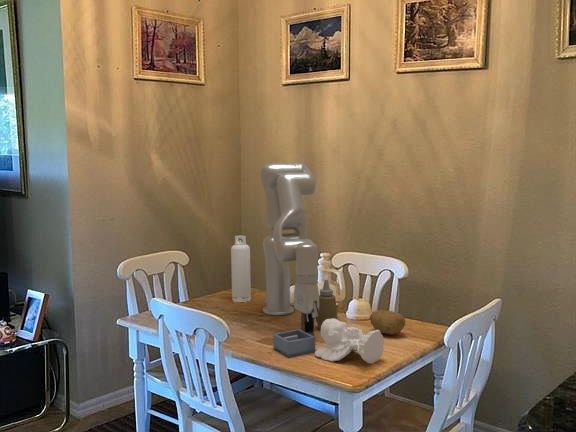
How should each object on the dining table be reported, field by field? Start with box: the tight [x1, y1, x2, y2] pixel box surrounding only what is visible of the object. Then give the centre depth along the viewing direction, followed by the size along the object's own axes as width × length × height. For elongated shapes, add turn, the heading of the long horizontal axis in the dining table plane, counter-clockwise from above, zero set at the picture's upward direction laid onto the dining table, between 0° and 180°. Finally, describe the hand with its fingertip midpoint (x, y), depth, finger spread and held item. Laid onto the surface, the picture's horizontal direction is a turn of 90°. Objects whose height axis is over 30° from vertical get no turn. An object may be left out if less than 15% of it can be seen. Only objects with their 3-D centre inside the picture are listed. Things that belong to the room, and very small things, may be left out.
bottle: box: [230, 235, 252, 303], centre depth 260 cm, size 8×8×28 cm
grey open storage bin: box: [272, 328, 316, 359], centre depth 197 cm, size 10×10×5 cm
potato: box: [369, 309, 406, 335], centre depth 214 cm, size 10×14×8 cm
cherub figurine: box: [314, 318, 385, 365], centre depth 189 cm, size 13×12×20 cm
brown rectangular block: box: [300, 312, 315, 337], centre depth 209 cm, size 2×4×10 cm, turn 120°
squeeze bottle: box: [315, 279, 339, 330], centre depth 219 cm, size 8×8×18 cm
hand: (307, 330), depth 209 cm, fingers closed on brown rectangular block, 1 cm apart
